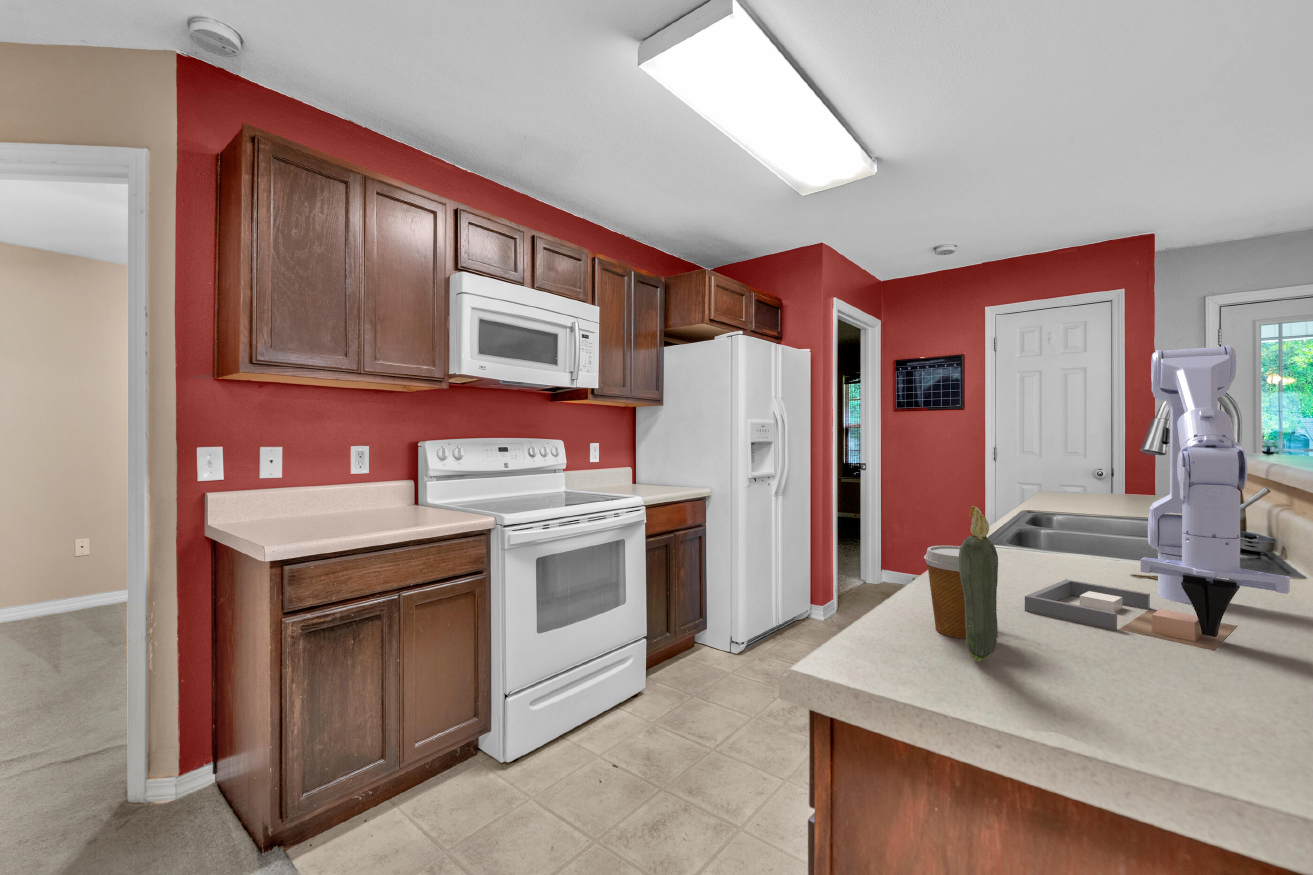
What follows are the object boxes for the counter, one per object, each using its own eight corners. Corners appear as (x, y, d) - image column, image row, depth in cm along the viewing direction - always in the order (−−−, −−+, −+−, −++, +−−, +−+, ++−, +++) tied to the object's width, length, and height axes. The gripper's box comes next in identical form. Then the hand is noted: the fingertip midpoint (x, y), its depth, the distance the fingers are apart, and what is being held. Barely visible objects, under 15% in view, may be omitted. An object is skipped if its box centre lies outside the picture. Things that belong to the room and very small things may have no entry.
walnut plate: (1149, 616, 92) (1149, 609, 92) (1237, 633, 84) (1237, 625, 84) (1118, 637, 83) (1118, 629, 83) (1214, 659, 75) (1214, 649, 75)
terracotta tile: (1160, 625, 84) (1160, 608, 84) (1202, 634, 81) (1202, 616, 81) (1151, 632, 82) (1151, 614, 82) (1194, 641, 78) (1194, 622, 78)
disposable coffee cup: (991, 648, 78) (991, 560, 78) (916, 633, 84) (917, 552, 84) (1000, 629, 86) (1000, 549, 86) (931, 617, 92) (931, 542, 92)
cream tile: (1088, 605, 97) (1089, 590, 97) (1122, 612, 93) (1122, 597, 93) (1079, 610, 94) (1079, 595, 94) (1113, 617, 91) (1113, 601, 91)
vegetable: (1003, 671, 71) (1003, 509, 71) (964, 668, 72) (965, 508, 72) (989, 657, 75) (990, 505, 75) (953, 654, 76) (954, 504, 76)
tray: (1065, 598, 102) (1066, 579, 102) (1149, 615, 93) (1149, 593, 93) (1024, 617, 92) (1024, 596, 92) (1114, 638, 82) (1114, 614, 82)
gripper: (1134, 530, 82) (1134, 625, 82) (1285, 546, 70) (1284, 657, 70) (1148, 526, 86) (1147, 616, 86) (1292, 540, 74) (1291, 644, 74)
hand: (1209, 634), depth 78 cm, fingers closed
